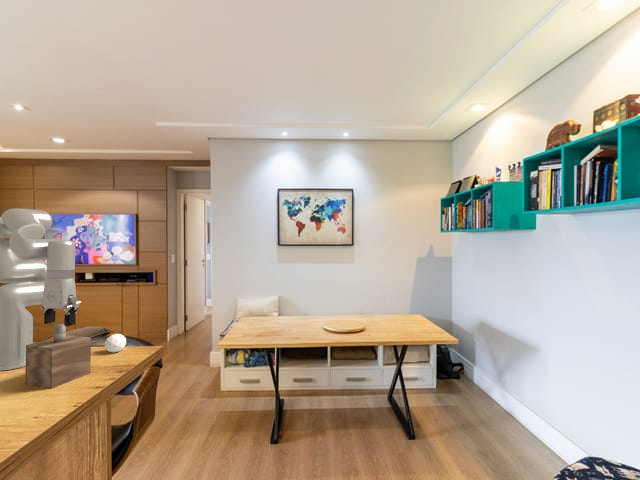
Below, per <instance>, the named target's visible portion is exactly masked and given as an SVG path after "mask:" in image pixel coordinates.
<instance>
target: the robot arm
mask: <svg viewBox="0 0 640 480" xmlns="http://www.w3.org/2000/svg"><path fill="white" fill-rule="evenodd" d="M52 225H53V218H52V216H51V215H50V213H49V212H47V211H46V210H42V209H32V208H30V209H29V208H20V207H19V208H17V207H16V208H14V207H13V208H10V209H7V210H5V211H4V212H3V213H2V214H1V216H0V283H1V284H3V285H1V286H0V372H1V371H10V370H16V369H20V368H23V367H26V345H29V344H32V343H34V342H33V340H34V339H33V338H34V331H33V330H34V316H33V314H32V313H31V312H30V311H29V310H28V309H26V307H29V306H36V305H41V307H42V309H43V310H42V312H43V315H44V317H43V318H44V319H43V322H44V323H43V324H45V325H49V324H52V323H55V322H56V310H63V311H64V313H65V314H64V317H63V318H64V320H63V322H64V323H63V324H64V326H66V327H70V326H74V325H75V324H76V314H77V313H78V310H79V306H80V305H81V301H80V300H79V299H77V288H76V281H75V274H76V273H75V272H76V271H75V270H76V243H75V242H74V240H69V239H56V238H55V239H50V238H43V237H44V236H45V234H46V232H47V231H49V230H50V229H51V228H52ZM6 239H9V241H8V240H6Z"/></svg>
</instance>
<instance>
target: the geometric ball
mask: <svg viewBox="0 0 640 480" xmlns="http://www.w3.org/2000/svg"><path fill="white" fill-rule="evenodd" d="M126 345H127V337H125V336H124V335H123V334H121V333H115V334H111V335H109V336H108V337H107V338H106V340H105V342H104V349H106V351H108V353H113V354H114V353H117V352H118V353H119V352H120V351H122V350H124V349H125V347H126Z"/></svg>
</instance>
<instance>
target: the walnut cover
mask: <svg viewBox="0 0 640 480" xmlns="http://www.w3.org/2000/svg"><path fill="white" fill-rule="evenodd" d="M91 345H92V337H91V336H82V335H81V336H80V335H71V334H67V326H64V323H59V324H55V325H53V337H52V338H49V339H44V340H41V341H36V342H33V343H32V344H29V345H26V366H25V379H24V380H25V382H24V384H25V385H31V386H37V387H40V388H41V387H42V388H48V389H54V388H57V387H59V386H62V385H64V384H67V383H69V382H71V381H74V380H77V379H80V378H82V377H85V376H86V375H89V374H91V365H92V363H91V359H92V358H91V357H92V356H91V355H92V354H91V353H92V351H91V350H92V346H91Z"/></svg>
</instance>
